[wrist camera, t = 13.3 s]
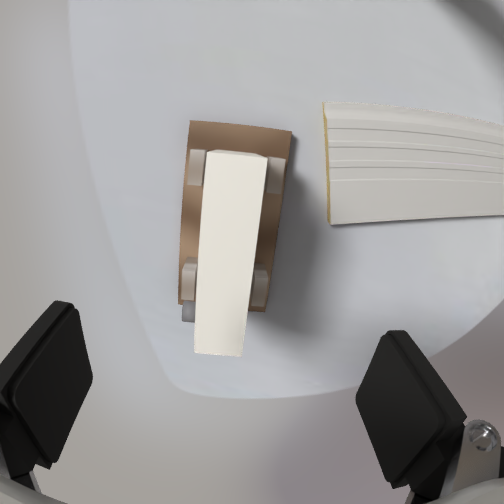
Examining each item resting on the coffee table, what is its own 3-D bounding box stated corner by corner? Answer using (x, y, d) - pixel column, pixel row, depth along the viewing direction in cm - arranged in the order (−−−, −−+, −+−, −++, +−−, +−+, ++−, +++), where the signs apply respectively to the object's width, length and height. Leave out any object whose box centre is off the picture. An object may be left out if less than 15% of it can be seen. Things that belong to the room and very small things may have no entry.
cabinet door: (204, 148, 23) (187, 150, 14) (255, 153, 23) (267, 158, 15) (193, 288, 27) (178, 350, 18) (238, 292, 27) (241, 356, 19)
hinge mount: (191, 121, 23) (183, 117, 19) (289, 132, 24) (299, 129, 20) (179, 299, 28) (172, 321, 24) (264, 306, 29) (268, 330, 25)
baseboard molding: (319, 87, 23) (325, 220, 27) (328, 81, 20) (335, 229, 24) (530, 124, 24) (527, 210, 28) (545, 125, 21) (542, 216, 25)
